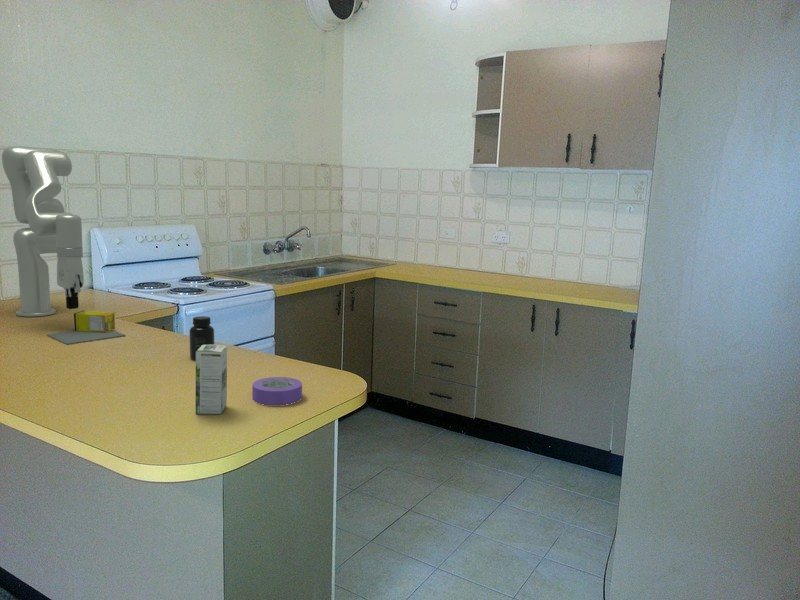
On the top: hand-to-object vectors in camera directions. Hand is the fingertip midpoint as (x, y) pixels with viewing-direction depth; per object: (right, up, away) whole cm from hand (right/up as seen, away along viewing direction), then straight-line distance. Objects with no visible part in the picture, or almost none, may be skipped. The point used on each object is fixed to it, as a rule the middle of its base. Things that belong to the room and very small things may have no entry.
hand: (72, 308), depth 205 cm
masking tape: (+79, -21, -56) cm, 99 cm away
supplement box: (+1, -4, +2) cm, 5 cm away
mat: (+7, -9, -5) cm, 12 cm away
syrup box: (+66, -22, -66) cm, 96 cm away
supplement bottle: (+51, -14, -24) cm, 58 cm away
